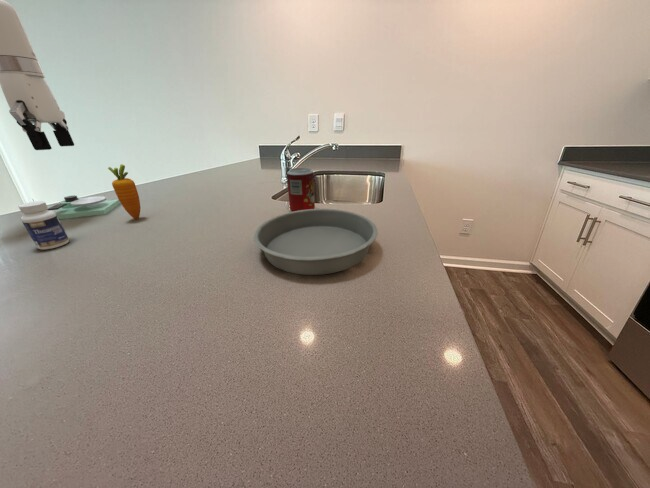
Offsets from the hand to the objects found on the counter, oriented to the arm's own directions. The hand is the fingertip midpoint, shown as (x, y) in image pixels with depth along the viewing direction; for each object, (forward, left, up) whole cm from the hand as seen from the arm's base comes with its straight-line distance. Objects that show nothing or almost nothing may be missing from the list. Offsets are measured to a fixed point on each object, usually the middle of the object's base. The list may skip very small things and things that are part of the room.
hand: (56, 147), depth 67 cm
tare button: (-8, +10, -16) cm, 21 cm away
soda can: (+60, -20, -19) cm, 66 cm away
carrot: (+15, -8, -19) cm, 26 cm away
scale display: (-8, +3, -16) cm, 18 cm away
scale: (-3, +7, -19) cm, 21 cm away
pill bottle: (+2, -20, -19) cm, 28 cm away
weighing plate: (-1, +6, -16) cm, 17 cm away
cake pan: (+58, -42, -19) cm, 74 cm away
